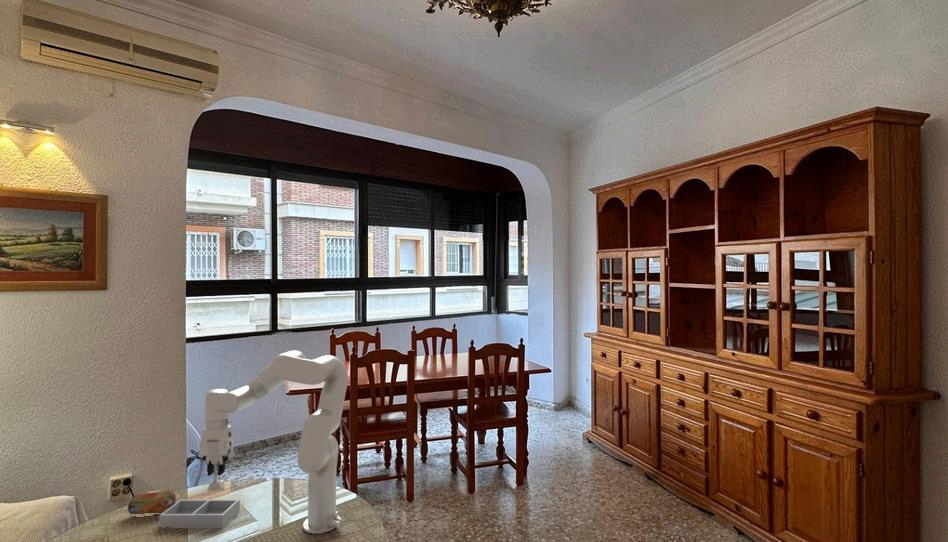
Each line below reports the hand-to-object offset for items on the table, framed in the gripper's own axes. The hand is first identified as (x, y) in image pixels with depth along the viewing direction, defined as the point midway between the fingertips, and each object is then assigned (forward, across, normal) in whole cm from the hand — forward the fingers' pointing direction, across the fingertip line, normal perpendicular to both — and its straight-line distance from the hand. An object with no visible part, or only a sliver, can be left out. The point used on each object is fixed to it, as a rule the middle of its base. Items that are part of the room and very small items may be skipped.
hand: (216, 473), depth 168 cm
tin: (+17, +26, -4) cm, 31 cm away
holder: (+17, +5, 0) cm, 18 cm away
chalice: (+5, 0, 0) cm, 5 cm away
